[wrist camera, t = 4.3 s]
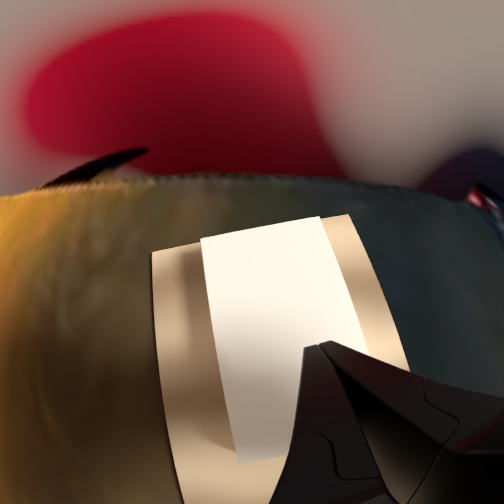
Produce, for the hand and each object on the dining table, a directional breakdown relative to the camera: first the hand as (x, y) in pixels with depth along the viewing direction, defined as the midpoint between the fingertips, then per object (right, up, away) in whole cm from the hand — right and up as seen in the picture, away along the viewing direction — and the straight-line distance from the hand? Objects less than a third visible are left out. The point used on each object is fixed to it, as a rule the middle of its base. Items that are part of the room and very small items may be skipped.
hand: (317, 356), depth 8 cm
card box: (+1, -6, +3) cm, 7 cm away
